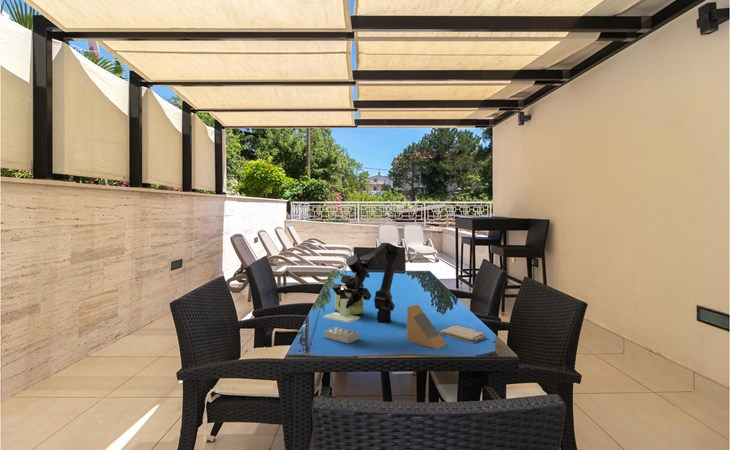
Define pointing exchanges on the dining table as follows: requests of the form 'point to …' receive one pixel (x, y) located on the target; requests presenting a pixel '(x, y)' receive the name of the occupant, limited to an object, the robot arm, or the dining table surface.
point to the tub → (341, 335)
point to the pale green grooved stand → (342, 313)
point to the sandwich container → (422, 329)
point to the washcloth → (463, 334)
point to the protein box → (354, 309)
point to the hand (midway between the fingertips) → (342, 307)
